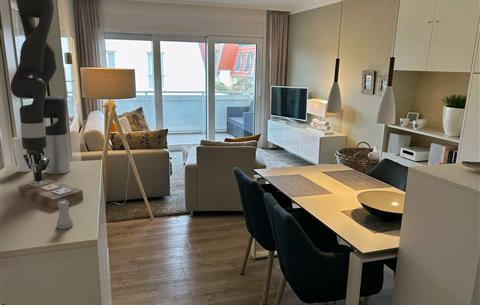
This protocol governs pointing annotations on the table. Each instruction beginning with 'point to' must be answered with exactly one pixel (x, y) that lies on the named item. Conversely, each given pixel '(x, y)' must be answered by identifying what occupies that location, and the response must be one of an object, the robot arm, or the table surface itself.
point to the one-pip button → (49, 187)
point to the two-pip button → (61, 191)
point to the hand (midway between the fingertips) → (38, 181)
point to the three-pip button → (38, 184)
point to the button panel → (50, 194)
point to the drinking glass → (20, 155)
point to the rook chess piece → (64, 215)
